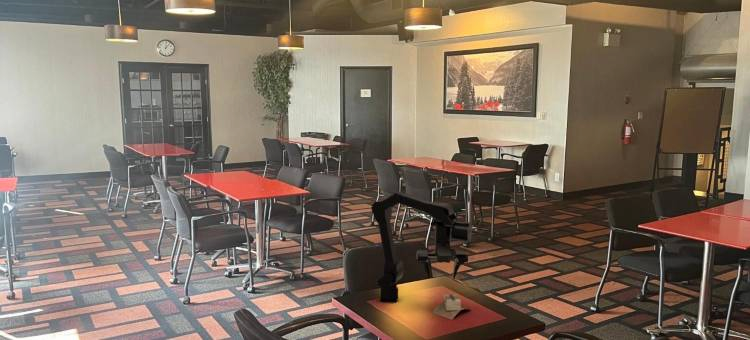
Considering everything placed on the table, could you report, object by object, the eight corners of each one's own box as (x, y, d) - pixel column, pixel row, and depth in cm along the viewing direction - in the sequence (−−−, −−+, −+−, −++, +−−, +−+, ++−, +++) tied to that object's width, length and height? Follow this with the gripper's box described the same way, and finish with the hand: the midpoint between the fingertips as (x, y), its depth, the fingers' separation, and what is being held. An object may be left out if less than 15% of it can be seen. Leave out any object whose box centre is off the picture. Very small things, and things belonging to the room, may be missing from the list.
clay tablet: (451, 322, 208) (452, 315, 207) (428, 315, 214) (428, 308, 214) (473, 311, 218) (473, 304, 218) (450, 305, 225) (451, 298, 225)
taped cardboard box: (444, 303, 219) (444, 294, 218) (457, 303, 219) (457, 294, 219) (446, 310, 212) (447, 300, 212) (460, 310, 212) (460, 300, 212)
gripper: (418, 242, 208) (417, 284, 210) (471, 244, 208) (469, 286, 210) (417, 235, 219) (415, 275, 221) (466, 236, 219) (465, 276, 221)
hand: (441, 278), depth 218 cm, fingers open, 9 cm apart
